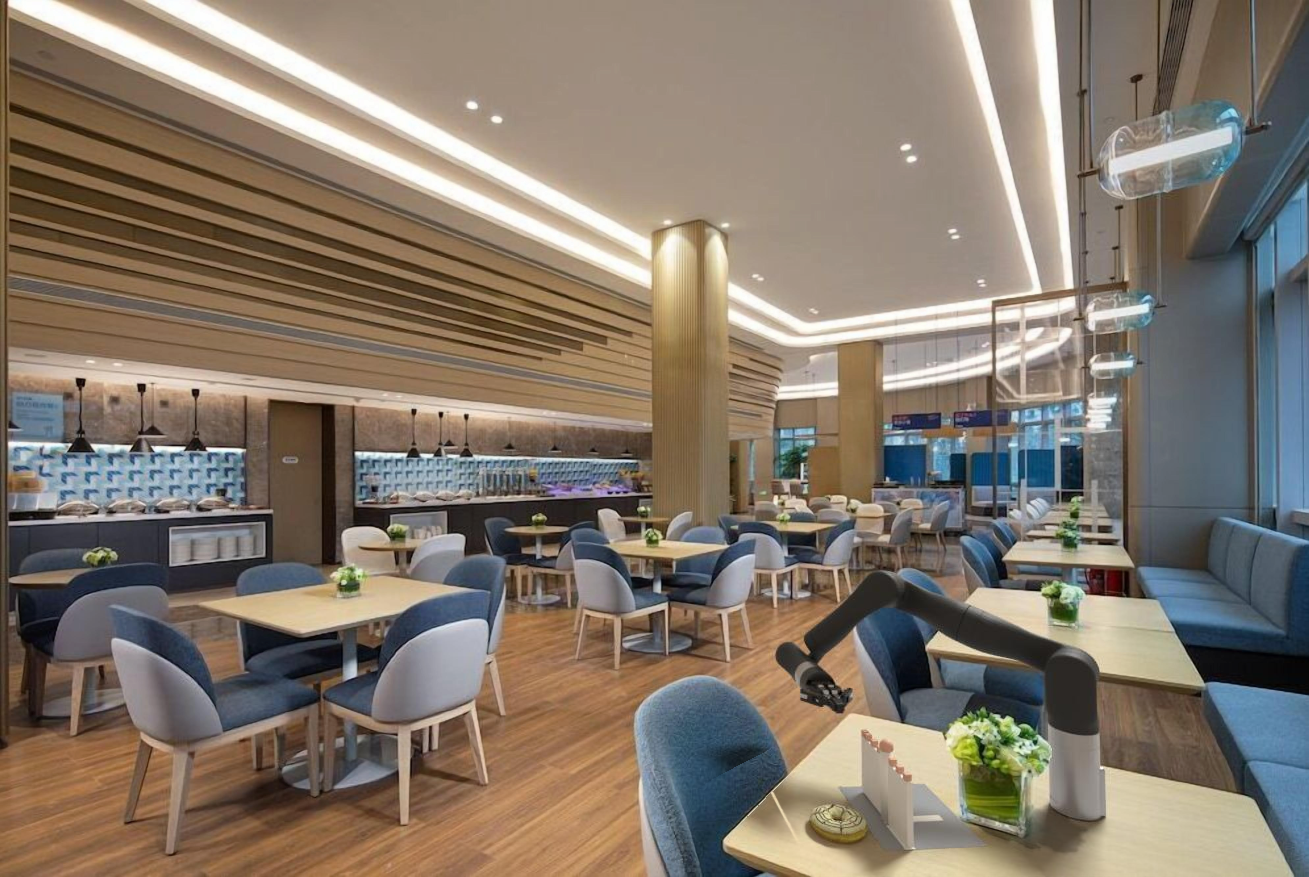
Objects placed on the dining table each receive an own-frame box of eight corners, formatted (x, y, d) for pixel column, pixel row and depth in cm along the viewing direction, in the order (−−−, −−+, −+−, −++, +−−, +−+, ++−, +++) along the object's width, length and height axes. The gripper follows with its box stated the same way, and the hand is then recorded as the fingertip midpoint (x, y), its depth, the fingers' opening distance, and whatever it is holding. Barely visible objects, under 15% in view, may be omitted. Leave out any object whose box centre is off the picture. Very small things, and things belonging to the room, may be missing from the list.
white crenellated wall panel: (886, 813, 133) (885, 748, 134) (880, 813, 133) (879, 748, 134) (867, 789, 143) (866, 729, 144) (861, 790, 143) (861, 729, 143)
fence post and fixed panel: (890, 816, 133) (889, 736, 134) (917, 848, 122) (916, 761, 122) (877, 816, 133) (876, 736, 134) (903, 849, 122) (902, 761, 122)
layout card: (924, 786, 147) (924, 783, 147) (986, 848, 123) (986, 845, 123) (838, 789, 145) (838, 786, 145) (884, 853, 121) (884, 850, 121)
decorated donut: (833, 812, 136) (833, 794, 136) (877, 836, 127) (877, 816, 128) (799, 828, 130) (799, 809, 130) (843, 854, 121) (843, 833, 122)
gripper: (787, 666, 157) (810, 691, 140) (840, 665, 158) (869, 690, 141) (787, 697, 157) (810, 727, 140) (840, 696, 158) (869, 725, 141)
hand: (840, 708), depth 140 cm, fingers closed
